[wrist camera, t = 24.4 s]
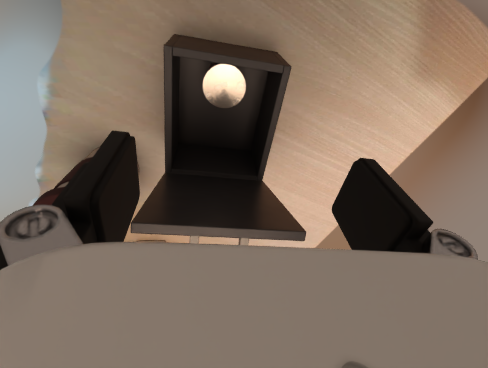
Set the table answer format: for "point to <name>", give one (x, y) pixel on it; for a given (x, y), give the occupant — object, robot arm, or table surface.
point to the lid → (215, 210)
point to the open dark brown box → (220, 109)
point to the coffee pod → (224, 85)
